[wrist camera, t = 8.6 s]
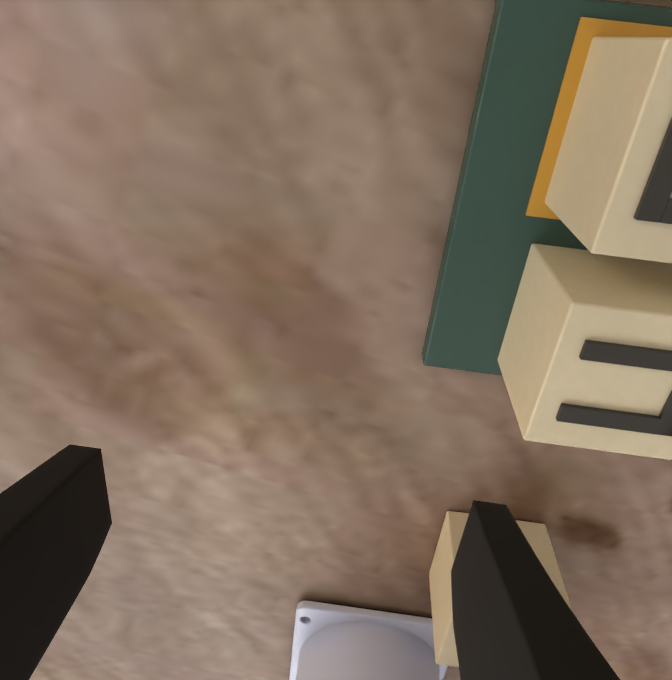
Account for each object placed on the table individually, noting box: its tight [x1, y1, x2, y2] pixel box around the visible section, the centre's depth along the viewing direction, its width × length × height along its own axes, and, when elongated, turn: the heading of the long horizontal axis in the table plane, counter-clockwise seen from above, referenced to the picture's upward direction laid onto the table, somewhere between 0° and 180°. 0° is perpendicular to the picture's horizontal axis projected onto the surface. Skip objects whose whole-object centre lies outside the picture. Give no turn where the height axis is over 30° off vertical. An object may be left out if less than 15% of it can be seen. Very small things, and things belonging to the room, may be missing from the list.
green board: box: [422, 0, 672, 375], centre depth 16 cm, size 11×9×1 cm
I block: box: [429, 511, 573, 667], centre depth 22 cm, size 4×4×4 cm
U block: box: [498, 244, 672, 460], centre depth 15 cm, size 4×4×4 cm
